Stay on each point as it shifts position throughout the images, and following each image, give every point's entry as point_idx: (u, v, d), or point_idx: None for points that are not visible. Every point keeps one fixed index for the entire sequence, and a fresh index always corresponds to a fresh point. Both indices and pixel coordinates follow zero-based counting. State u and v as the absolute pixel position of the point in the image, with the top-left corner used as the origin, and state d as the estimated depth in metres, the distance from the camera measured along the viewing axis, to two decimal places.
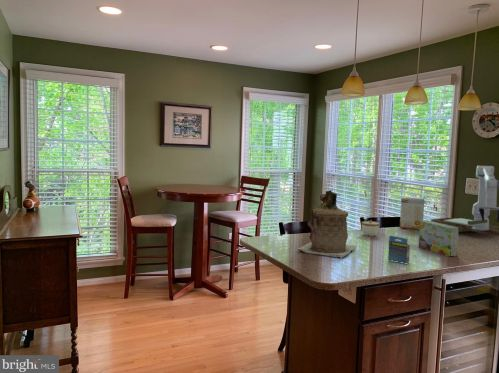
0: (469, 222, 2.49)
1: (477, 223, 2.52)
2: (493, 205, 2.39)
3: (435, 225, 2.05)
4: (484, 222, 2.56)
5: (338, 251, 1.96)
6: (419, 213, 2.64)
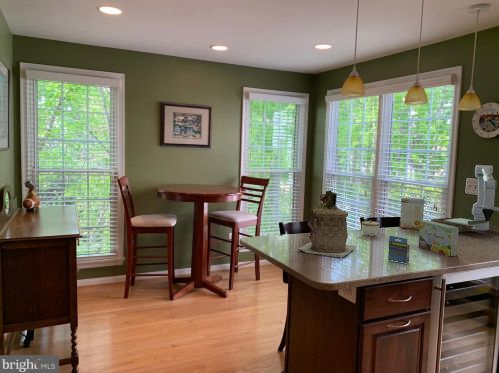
0: (469, 222, 2.49)
1: (477, 223, 2.52)
2: (487, 205, 2.45)
3: (435, 225, 2.05)
4: (484, 222, 2.56)
5: (338, 251, 1.96)
6: (419, 213, 2.64)
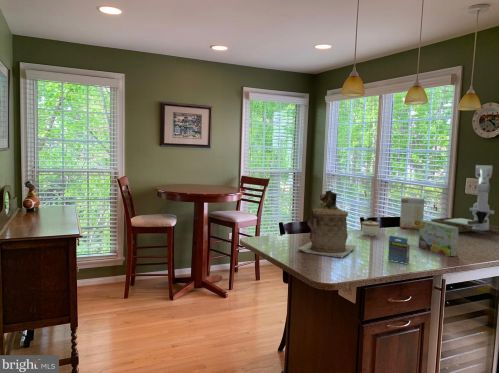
0: (469, 222, 2.49)
1: (477, 223, 2.52)
2: (480, 208, 2.49)
3: (435, 225, 2.05)
4: (484, 222, 2.56)
5: (338, 251, 1.96)
6: (419, 213, 2.64)
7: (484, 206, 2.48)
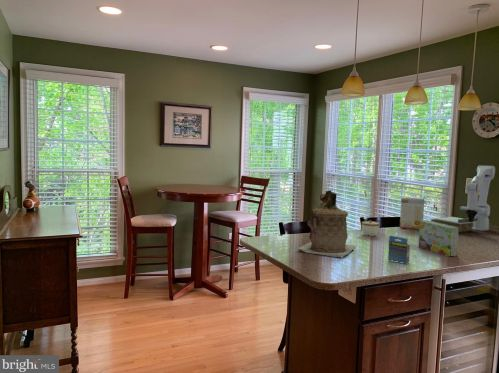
0: (459, 220, 2.55)
1: (467, 221, 2.58)
2: (471, 207, 2.55)
3: (435, 225, 2.05)
4: (474, 220, 2.61)
5: (338, 251, 1.97)
6: (419, 213, 2.64)
7: (474, 205, 2.54)
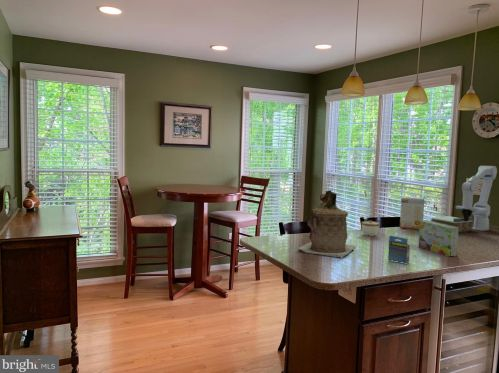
0: (455, 219, 2.58)
1: (462, 220, 2.61)
2: (466, 206, 2.58)
3: (435, 225, 2.05)
4: (469, 220, 2.64)
5: (338, 251, 1.97)
6: (419, 213, 2.64)
7: (469, 204, 2.57)
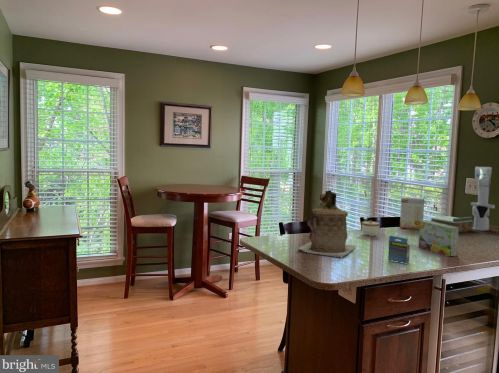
0: (454, 219, 2.58)
1: (462, 220, 2.61)
2: (481, 203, 2.53)
3: (435, 225, 2.05)
4: (469, 219, 2.64)
5: (338, 251, 1.97)
6: (419, 213, 2.64)
7: (485, 201, 2.53)
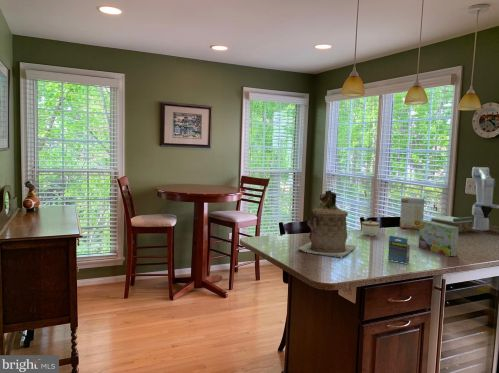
0: (454, 219, 2.58)
1: (462, 220, 2.61)
2: (486, 203, 2.53)
3: (435, 225, 2.05)
4: (469, 219, 2.64)
5: (338, 251, 1.97)
6: (419, 213, 2.64)
7: (489, 201, 2.52)
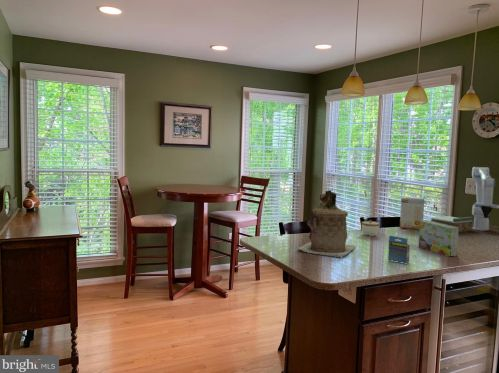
0: (454, 219, 2.58)
1: (462, 220, 2.61)
2: (486, 203, 2.53)
3: (435, 225, 2.05)
4: (469, 219, 2.64)
5: (337, 251, 1.97)
6: (419, 213, 2.64)
7: (489, 201, 2.52)
